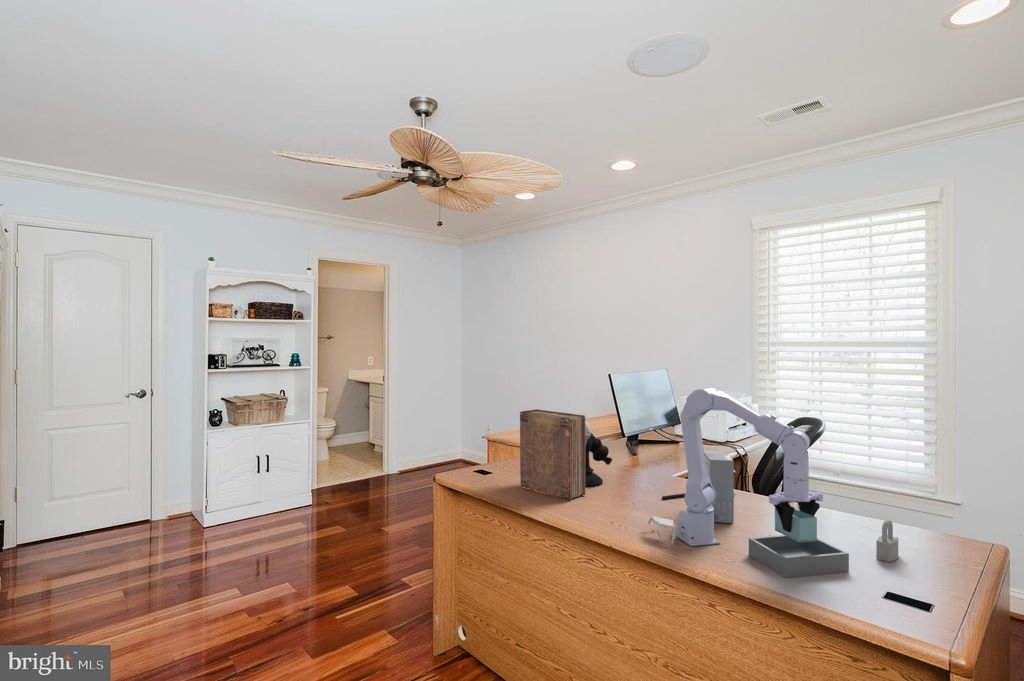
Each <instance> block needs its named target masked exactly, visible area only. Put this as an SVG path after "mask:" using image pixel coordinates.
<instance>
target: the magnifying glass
mask: <svg viewBox="0 0 1024 681" xmlns="http://www.w3.org/2000/svg"><path fill="white" fill-rule="evenodd" d="M736 493H737V492H736V490H735V489H734V497H735V496H736ZM685 494H686V492H685V493H679V494H678V493H676V494H669V495H668V494H667V495H662V496H661V499H662V500H663V501H667V500H668V501H669V500H675V499H683V498H684V499H685Z"/></svg>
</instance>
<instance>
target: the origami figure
mask: <svg viewBox="0 0 1024 681" xmlns="http://www.w3.org/2000/svg"><path fill="white" fill-rule="evenodd" d="M652 522H653V523H655V524H656V525H658V526H657V528H656V533H657V535H658V541H661V535H660V532H659V531H660V529H661V527H663V528H668V529H672V531H671V532H669V535H671V536H672V539H671V545H674V540H675V538H676V532H678V524H676V523H675V520H673V519H668V518H662V517H658V516H653V515H651V517H650V518H649V520H648V525H649V527H650V530H651V531H652V532H654V533H655V530H654V529H653V526H652Z"/></svg>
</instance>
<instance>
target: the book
mask: <svg viewBox="0 0 1024 681" xmlns="http://www.w3.org/2000/svg"><path fill="white" fill-rule="evenodd" d="M585 422H586V415H585V414H584V415H583V414H576V413H569V412H560V411H551V410H545V409H544V410H543V409H530V410H523V411H520V412H519V441H520V443H519V444H520V445H519V451H520V452H519V455H520V456H519V459H520V460H519V462H520V463H519V464H520V465H519V466H520V472H519V473H520V478H519V479H520V487H521V486H522V487H525V488H529V489H532V490H536V491H539V492H542V493H545V494H544V495H546V494H548V495H547V496H549V495H551V496H550V497H553V496H555V497H554V498H556V497H558V498H557V499H559V498H561V499H560V500H563V499H565V500H564V501H566V500H568V501H567V502H571V501H572V499H575V498H579V497H582V496H581V495H585V496H586V487H585ZM522 487H521V488H522ZM525 488H524V489H525ZM529 489H528V490H529ZM532 490H531V491H532ZM539 492H538V493H539ZM542 493H541V494H542Z"/></svg>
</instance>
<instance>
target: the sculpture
mask: <svg viewBox="0 0 1024 681" xmlns="http://www.w3.org/2000/svg"><path fill="white" fill-rule="evenodd" d="M609 452H610V451H609V448H608V446H606V445H603V443H602V440H601V439H600V438H596V436H595V435H594V434H593V433H592V432H591V426H590V424H589V423H588V422H587V421H585V488H587V487H588V488H595V486H597V487H600V486H602V485H603V482H604V481H603V479H602V478H601V477H600V476H599V475H598V474H597V473H595V472H594V469H593V468H592V467H591V465H590V464H591V463H590V453H591V454H592V458H593V460H594V462H601V461H602V462H604V463H605V464H606V465H608V466H610V465H611V463H612V462H613V458H612V457H609V456H608V455H609Z"/></svg>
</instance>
